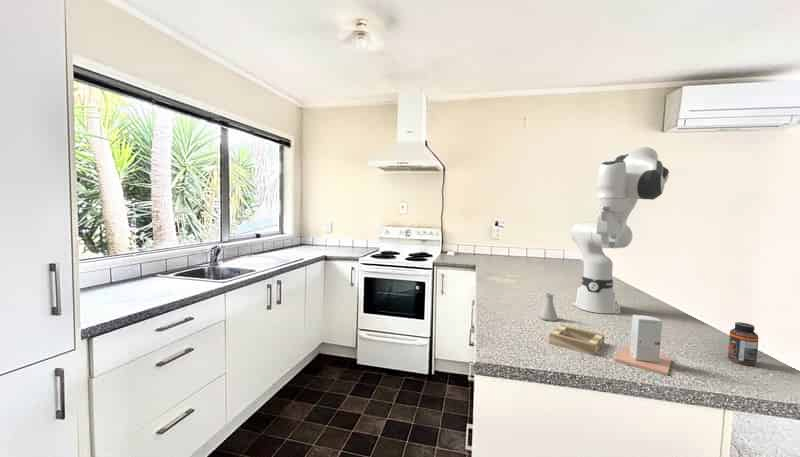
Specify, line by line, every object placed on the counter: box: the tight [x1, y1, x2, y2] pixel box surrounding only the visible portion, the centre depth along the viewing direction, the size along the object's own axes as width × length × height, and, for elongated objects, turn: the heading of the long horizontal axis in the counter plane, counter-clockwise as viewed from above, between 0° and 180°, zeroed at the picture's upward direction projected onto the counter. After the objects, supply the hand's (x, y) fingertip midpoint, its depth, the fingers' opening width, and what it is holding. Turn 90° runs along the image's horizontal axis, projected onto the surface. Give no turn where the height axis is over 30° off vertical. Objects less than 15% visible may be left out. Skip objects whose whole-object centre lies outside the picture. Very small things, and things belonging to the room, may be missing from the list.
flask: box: [538, 293, 559, 322], centre depth 136 cm, size 7×7×10 cm
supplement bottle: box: [727, 321, 760, 367], centre depth 99 cm, size 6×6×11 cm
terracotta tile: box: [614, 346, 673, 377], centre depth 99 cm, size 13×12×1 cm
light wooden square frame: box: [548, 324, 605, 356], centre depth 111 cm, size 13×13×3 cm
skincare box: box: [629, 314, 663, 362], centre depth 98 cm, size 6×4×12 cm
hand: (608, 247), depth 117 cm, fingers open, 8 cm apart
